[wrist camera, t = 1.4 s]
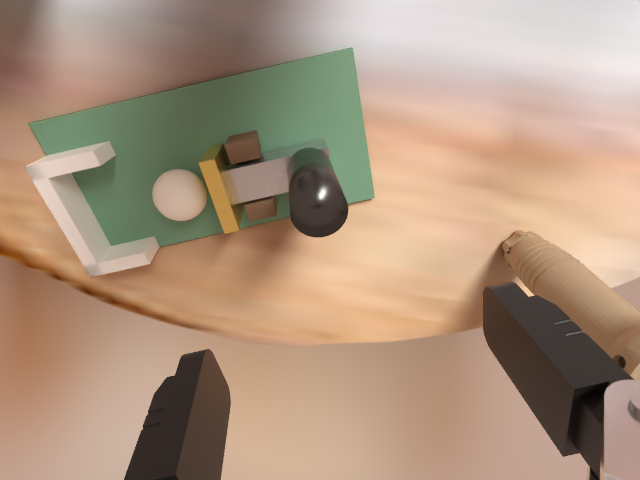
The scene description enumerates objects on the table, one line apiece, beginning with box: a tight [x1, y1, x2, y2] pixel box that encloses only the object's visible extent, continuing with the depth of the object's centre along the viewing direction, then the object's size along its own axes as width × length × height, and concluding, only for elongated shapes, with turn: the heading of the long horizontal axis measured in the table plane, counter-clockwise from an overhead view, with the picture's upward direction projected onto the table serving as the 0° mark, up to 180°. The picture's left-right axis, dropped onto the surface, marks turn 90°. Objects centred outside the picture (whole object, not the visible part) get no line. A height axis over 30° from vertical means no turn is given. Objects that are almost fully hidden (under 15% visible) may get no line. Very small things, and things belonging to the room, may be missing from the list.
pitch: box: [29, 48, 375, 247], centre depth 28 cm, size 11×22×1 cm, turn 102°
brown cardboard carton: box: [225, 130, 277, 222], centre depth 27 cm, size 6×2×3 cm, turn 12°
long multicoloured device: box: [199, 139, 348, 237], centre depth 24 cm, size 8×5×9 cm, turn 102°
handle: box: [502, 230, 640, 381], centre depth 27 cm, size 5×6×15 cm
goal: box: [24, 141, 159, 277], centre depth 27 cm, size 9×4×3 cm, turn 12°
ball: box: [152, 169, 207, 221], centre depth 27 cm, size 4×4×4 cm
